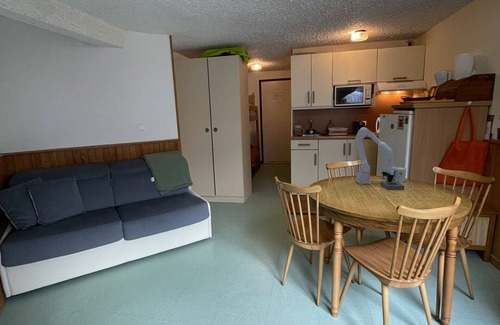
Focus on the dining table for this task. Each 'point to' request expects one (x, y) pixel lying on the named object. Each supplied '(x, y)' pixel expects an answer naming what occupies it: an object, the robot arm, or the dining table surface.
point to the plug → (385, 179)
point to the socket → (392, 185)
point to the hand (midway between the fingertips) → (387, 181)
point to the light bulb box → (399, 174)
